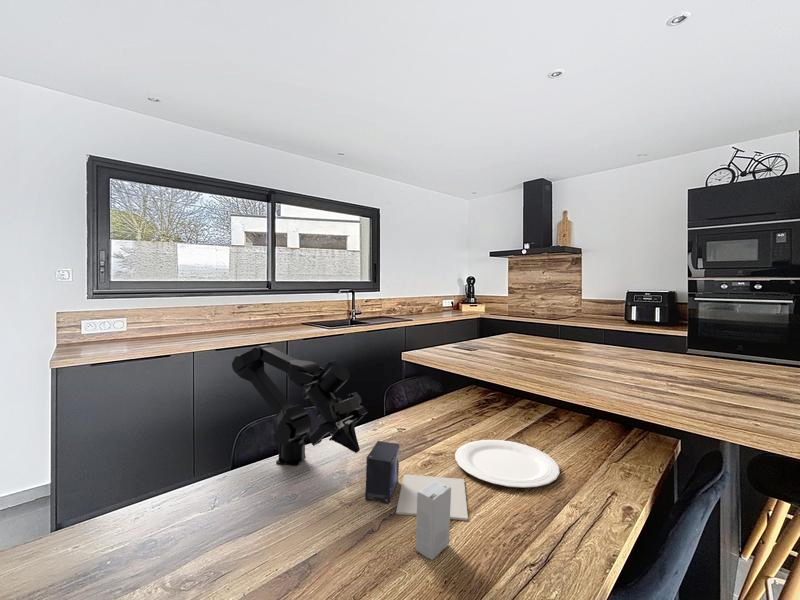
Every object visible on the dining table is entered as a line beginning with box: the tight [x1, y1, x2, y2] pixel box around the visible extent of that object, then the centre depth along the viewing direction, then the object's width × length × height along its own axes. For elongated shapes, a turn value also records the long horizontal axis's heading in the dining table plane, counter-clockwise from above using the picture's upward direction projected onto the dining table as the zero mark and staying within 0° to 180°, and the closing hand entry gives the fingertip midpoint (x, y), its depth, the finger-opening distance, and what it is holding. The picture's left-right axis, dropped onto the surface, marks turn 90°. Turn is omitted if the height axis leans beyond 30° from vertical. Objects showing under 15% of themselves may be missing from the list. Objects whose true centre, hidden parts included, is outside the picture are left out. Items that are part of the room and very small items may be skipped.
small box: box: [364, 440, 400, 504], centre depth 95 cm, size 11×6×10 cm, turn 168°
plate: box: [454, 439, 560, 489], centre depth 110 cm, size 29×29×2 cm
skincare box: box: [414, 481, 451, 561], centre depth 74 cm, size 6×4×12 cm
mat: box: [395, 474, 469, 522], centre depth 93 cm, size 16×17×1 cm
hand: (358, 451), depth 98 cm, fingers closed
